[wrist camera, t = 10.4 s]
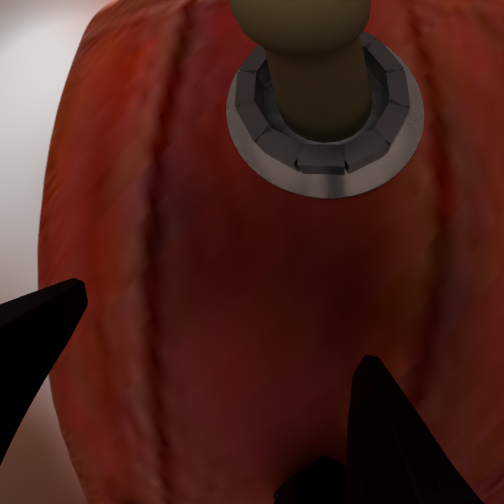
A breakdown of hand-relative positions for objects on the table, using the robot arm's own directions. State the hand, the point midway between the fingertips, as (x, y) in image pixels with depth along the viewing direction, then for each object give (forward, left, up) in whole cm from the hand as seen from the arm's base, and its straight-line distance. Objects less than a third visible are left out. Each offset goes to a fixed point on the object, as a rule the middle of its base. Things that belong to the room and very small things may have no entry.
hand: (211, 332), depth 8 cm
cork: (+4, -11, -10) cm, 16 cm away
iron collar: (+4, -11, -11) cm, 16 cm away
